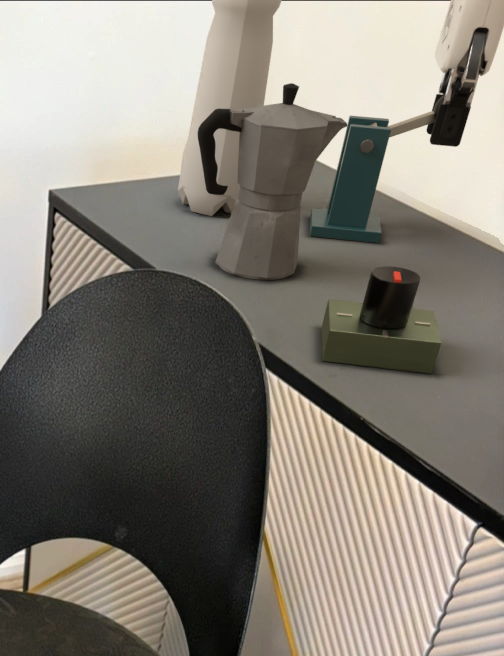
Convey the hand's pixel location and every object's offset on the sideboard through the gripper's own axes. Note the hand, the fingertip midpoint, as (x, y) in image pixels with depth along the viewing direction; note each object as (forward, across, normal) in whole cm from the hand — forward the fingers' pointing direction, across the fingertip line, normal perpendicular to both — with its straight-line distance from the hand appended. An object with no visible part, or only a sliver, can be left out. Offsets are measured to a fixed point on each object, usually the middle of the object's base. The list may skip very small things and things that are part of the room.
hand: (442, 137), depth 125 cm
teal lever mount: (+11, 0, -8) cm, 14 cm away
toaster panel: (+11, +36, -6) cm, 38 cm away
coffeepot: (+11, +16, -19) cm, 27 cm away
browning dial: (+8, +36, -6) cm, 37 cm away
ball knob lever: (+1, 0, -3) cm, 3 cm away
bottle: (+11, -4, -24) cm, 27 cm away
